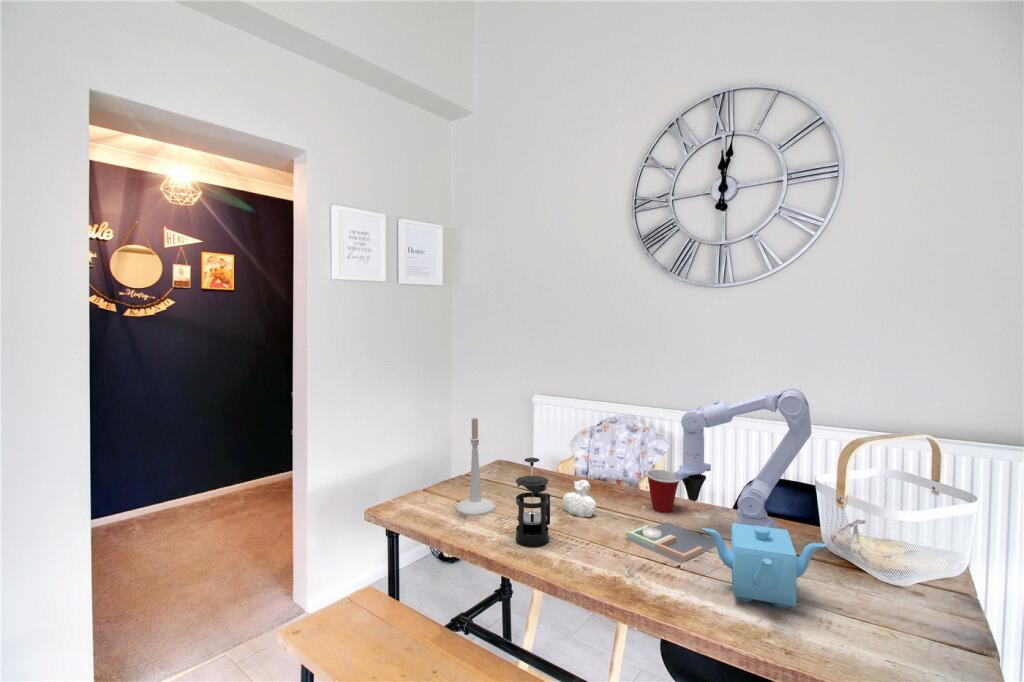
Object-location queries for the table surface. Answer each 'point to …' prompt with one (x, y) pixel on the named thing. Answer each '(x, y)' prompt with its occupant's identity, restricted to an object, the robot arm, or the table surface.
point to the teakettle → (763, 563)
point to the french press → (532, 520)
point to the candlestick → (475, 483)
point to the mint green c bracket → (637, 536)
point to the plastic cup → (662, 489)
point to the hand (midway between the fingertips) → (692, 500)
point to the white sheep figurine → (579, 500)
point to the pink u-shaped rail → (682, 556)
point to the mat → (680, 540)
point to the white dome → (652, 533)
